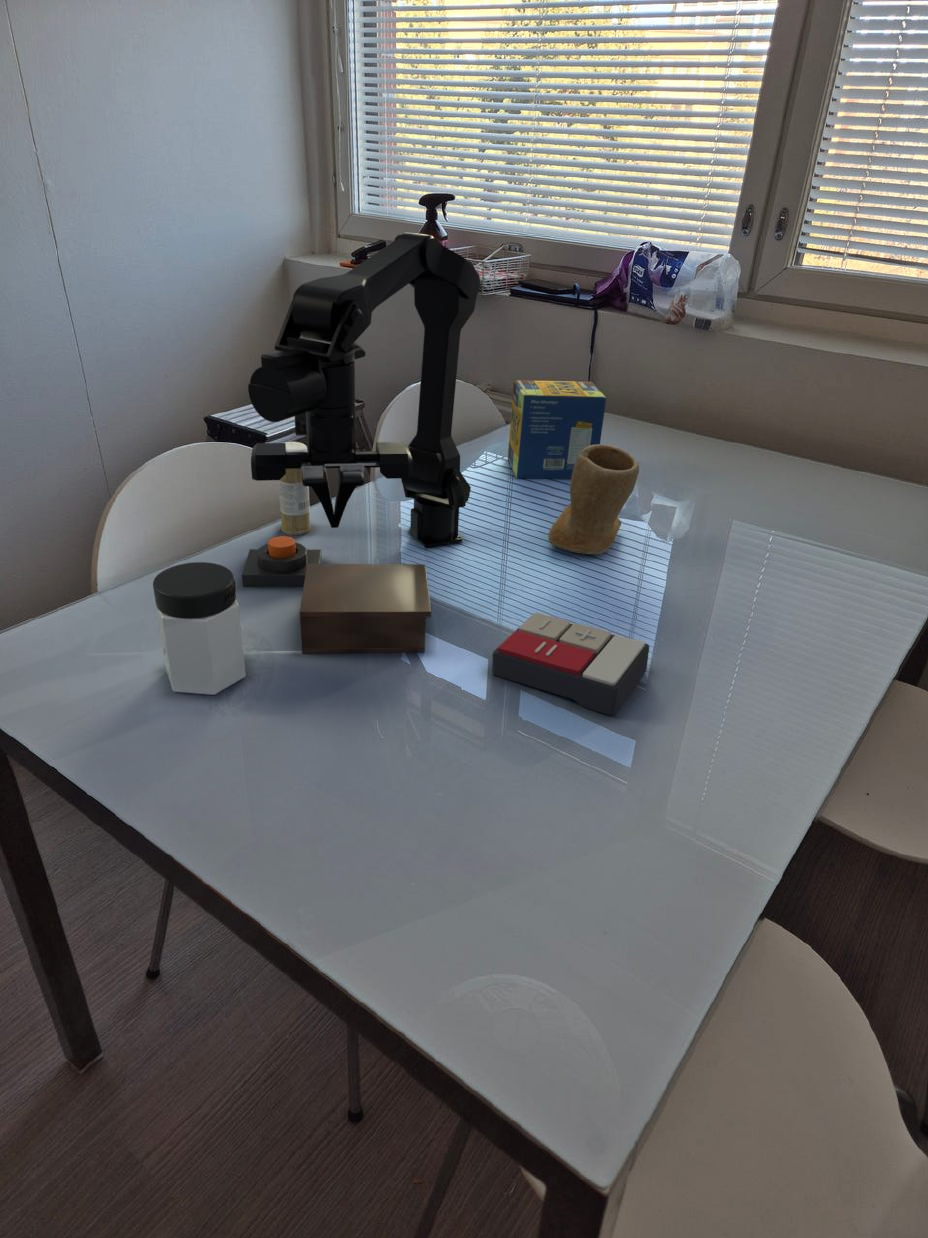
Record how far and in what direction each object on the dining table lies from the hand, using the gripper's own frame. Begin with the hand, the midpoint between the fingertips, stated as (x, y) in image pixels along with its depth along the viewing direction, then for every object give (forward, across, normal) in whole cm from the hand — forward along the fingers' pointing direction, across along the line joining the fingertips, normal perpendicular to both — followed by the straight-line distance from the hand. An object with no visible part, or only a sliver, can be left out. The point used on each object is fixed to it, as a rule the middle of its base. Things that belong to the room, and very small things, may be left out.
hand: (334, 526), depth 102 cm
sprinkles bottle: (+11, +5, -23) cm, 26 cm away
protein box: (+11, -42, -48) cm, 65 cm away
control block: (+10, +7, -8) cm, 15 cm away
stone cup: (+11, -40, -16) cm, 44 cm away
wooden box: (+10, -3, +7) cm, 13 cm away
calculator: (+11, -26, +20) cm, 34 cm away
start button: (+7, +7, -8) cm, 13 cm away
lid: (+6, -3, +7) cm, 10 cm away
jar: (+11, +15, +16) cm, 24 cm away
